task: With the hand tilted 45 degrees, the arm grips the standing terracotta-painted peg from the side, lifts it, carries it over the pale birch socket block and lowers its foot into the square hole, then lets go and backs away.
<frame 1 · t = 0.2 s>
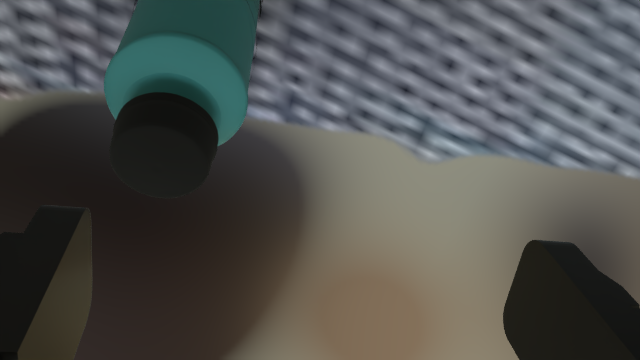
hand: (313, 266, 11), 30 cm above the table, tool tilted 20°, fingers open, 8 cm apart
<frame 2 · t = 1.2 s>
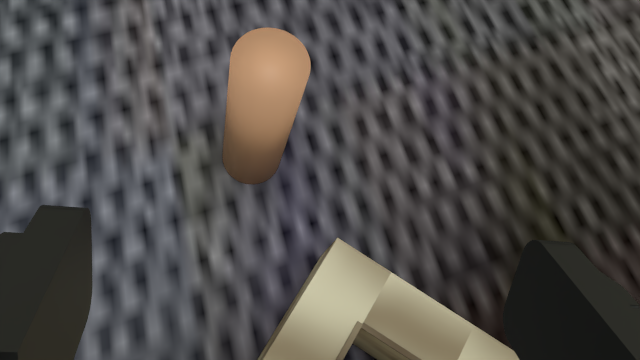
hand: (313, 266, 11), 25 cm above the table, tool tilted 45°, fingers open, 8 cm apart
peg: (251, 157, 38), on the table
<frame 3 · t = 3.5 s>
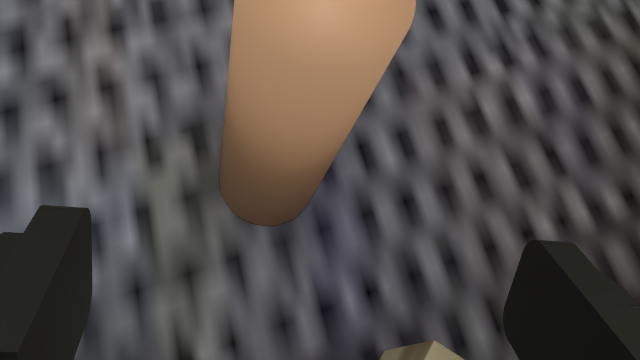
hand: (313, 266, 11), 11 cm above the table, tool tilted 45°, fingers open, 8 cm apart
peg: (267, 180, 23), on the table
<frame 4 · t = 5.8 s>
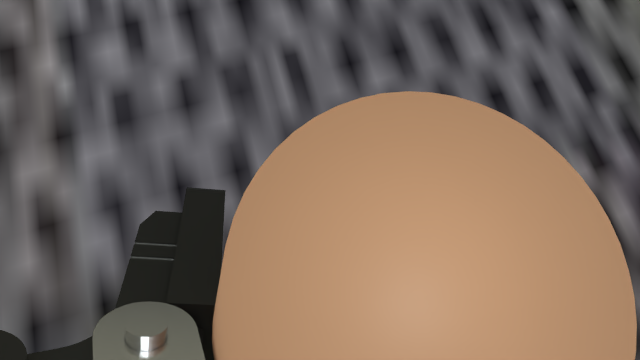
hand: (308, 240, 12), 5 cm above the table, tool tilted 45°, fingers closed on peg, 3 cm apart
peg: (275, 357, 16), on the table, touching gripper
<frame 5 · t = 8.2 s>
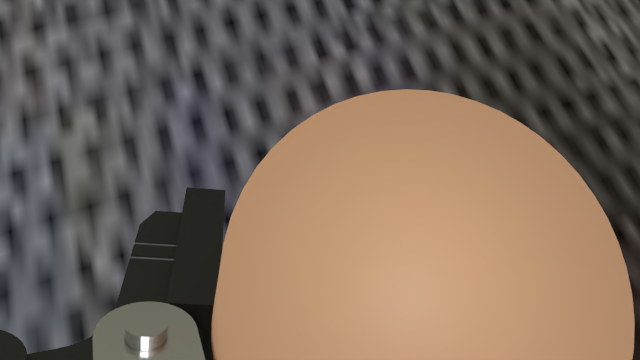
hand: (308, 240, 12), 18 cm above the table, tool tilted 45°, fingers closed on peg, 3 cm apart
peg: (274, 356, 16), point 13 cm above the table, touching gripper
when the fingers open (9 cm above the table, at t = 10.6 s): peg drops 3 cm, resting in socket.
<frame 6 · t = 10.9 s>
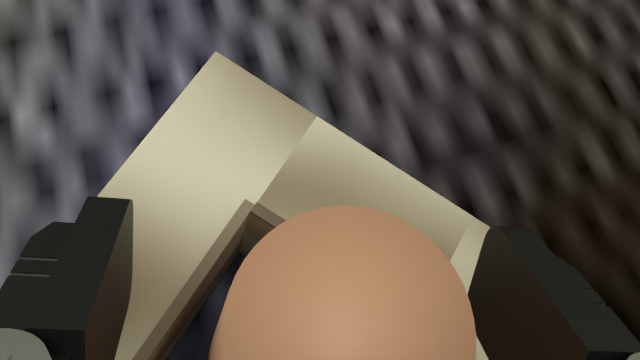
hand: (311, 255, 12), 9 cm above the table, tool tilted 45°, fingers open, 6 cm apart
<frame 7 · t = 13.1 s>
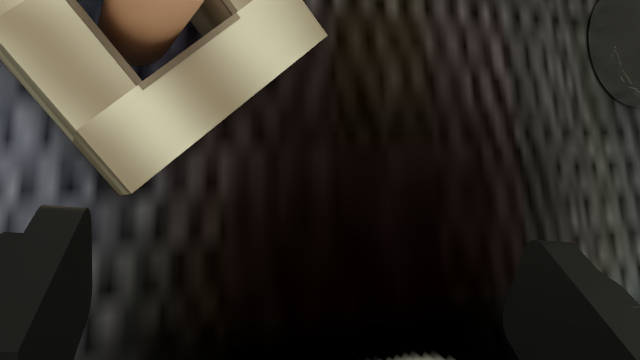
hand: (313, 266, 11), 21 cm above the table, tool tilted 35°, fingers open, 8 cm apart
socket: (135, 29, 31), on the table
peg: (135, 31, 31), resting in socket
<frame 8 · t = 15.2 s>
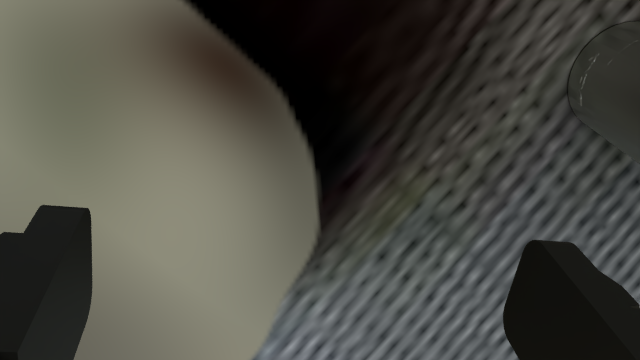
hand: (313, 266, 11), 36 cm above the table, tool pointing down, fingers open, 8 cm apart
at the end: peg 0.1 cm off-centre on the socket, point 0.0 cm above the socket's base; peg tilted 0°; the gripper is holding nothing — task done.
